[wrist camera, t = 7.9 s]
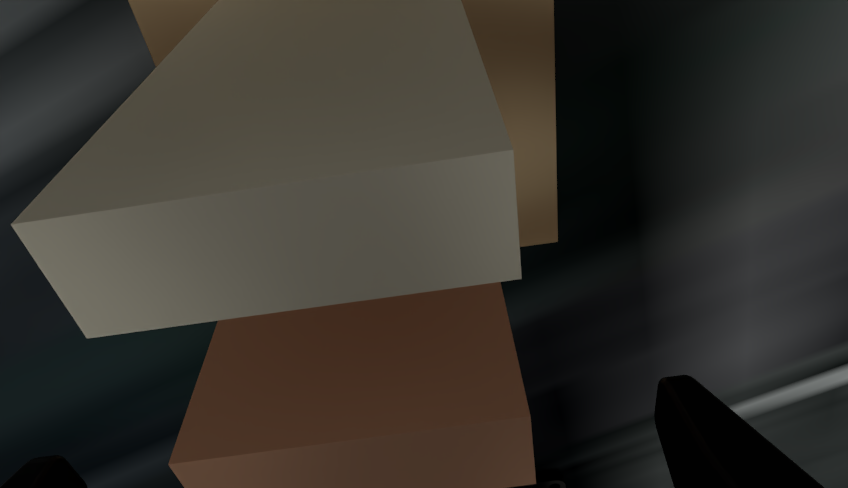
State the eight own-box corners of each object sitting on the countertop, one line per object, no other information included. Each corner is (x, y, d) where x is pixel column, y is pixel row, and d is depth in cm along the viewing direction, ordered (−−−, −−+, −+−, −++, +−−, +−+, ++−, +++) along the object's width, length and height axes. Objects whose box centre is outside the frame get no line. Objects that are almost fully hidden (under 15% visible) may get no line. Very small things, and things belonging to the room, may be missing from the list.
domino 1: (451, 20, 15) (520, 279, 7) (253, 52, 15) (86, 338, 7) (443, -50, 14) (513, 150, 6) (231, -15, 14) (11, 224, 6)
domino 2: (468, 162, 17) (535, 483, 9) (296, 190, 17) (211, 525, 9) (462, 110, 16) (530, 415, 8) (280, 140, 16) (168, 464, 8)
